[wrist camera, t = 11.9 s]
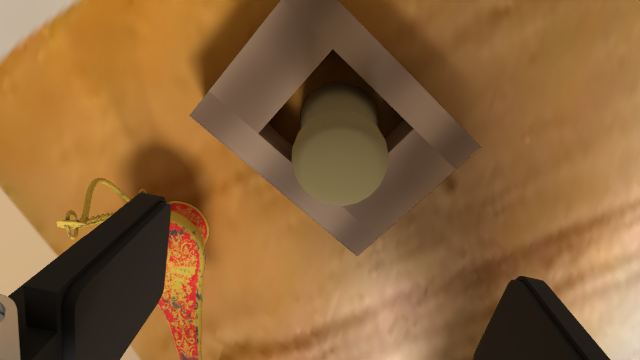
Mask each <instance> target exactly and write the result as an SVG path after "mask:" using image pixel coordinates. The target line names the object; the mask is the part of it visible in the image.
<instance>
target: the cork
mask: <svg viewBox="0 0 640 360" xmlns="http://www.w3.org/2000/svg"><path fill="white" fill-rule="evenodd" d="M378 119H379V118H378V113H377V108H376V105H375V103H374V102H373V100H372V98H371V96H370V95H369V94H368V93H367V92H365V91H364V90H363V89H362V88H361V87H359V86H356V85H354V84H352V83H349V82H338V81H336V82H332V83H328V84H324V85H322V86H321V87H319V88H317V89H316V90H314V91H313V92H312V93H311V94H310V96H309V97H308V98H307V99H306V101H305V103H304V105H303V108H302V110H301V116H300V127H301V130H300V131H299V133H298V135H297V137H296V140H295V142H294V145H293V148H292V167H293V170H294V174H295V177H296V179H297V181H298V182H299V184H300V185H301V187H302V188H303V190H304V191H305V192H306V193H308V194H309V195H310V196H311V197H313V198H314V199H315V200H318V201H320V202H323V203H325V204H328V205H337V206H345V205H350V204H355V203H358V202H360V201H362V200H363V199H365V198H367V197H369V196H370V195H371V194H372V193H373V192H374V191H375V190H376V189H377V188H378V187H379V186H380V184H381V182H382V180H383V178H384V176H385V174H386V171H387V165H388V158H389V155H388V150H387V145H386V141H385V139H384V137H383V135H382V134H381V132H380V130H379V129H378Z"/></svg>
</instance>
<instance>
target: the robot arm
mask: <svg viewBox="0 0 640 360" xmlns="http://www.w3.org/2000/svg"><path fill="white" fill-rule="evenodd" d="M170 218H171V205H170V204H168V203H166V202H165V198H164V197H161V196H157V195H152V194H147V193H143V192H141V193H139V194H138V195H137V196H135V197H134V198H133V199H132V200H130V201H129V202H128V203H127V204H125V205H124V206H123V207H122V208H120V209H119V210H118V211H117V212H115V213H114V214H113V215H111V216H110V217H109V218H108V219H106V220H105V221H104V222H103V223H101V224H100V225H99V226H98V227H96V228H95V229H94V230H93V231H91V232H90V233H89V234H87V235H86V236H84V237H83V238H81V239H80V240H79V241H78V242H76V243H75V244H74V245H73V246H71V247H70V248H69V249H67V250H66V251H65V252H64V253H62V254H61V255H60V256H59V257H57V258H56V259H55V260H54V261H52V262H51V263H50V264H49V265H47V266H46V267H45V268H43V269H42V270H41V271H40V272H39V273H37V274H36V275H35V276H33V277H32V278H31V279H30V280H28V281H27V282H26V283H24V284H23V285H22V286H21V287H19V288H18V289H17V290H16V291H14V292H13V293H12V294H11V295H9V296H8V297H7V296H5V295H2V294H0V360H120V358H121V357H122V356H123V354H124V353H125V351H126V350H127V348H128V347H129V345H130V344H131V342H132V341H133V339H134V338H135V336H136V335H137V333H138V332H139V330H140V329H141V327H142V326H143V324H144V323H145V321H146V320H147V319H148V317H149V316H150V314H151V313H152V311H153V310H154V308H155V307H156V305H157V304H158V302H159V301H160V299H161V297H162V294H163V291H164V285H165V274H166V263H167V251H168V240H169V229H170ZM474 360H610V359H609V358H608V356H607V355H606V354H605V353H604V352H603V350H602V349H601V348H600V347H599V346H598V344H597V343H596V342H595V341H594V340H593V339H592V337H591V336H590V335H589V334H588V333H587V331H586V330H585V329H584V328H583V327H582V325H581V324H580V323H579V322H578V321H577V320H576V318H575V317H574V316H573V315H572V314H571V312H570V311H569V310H568V309H567V308H566V306H565V305H564V304H563V303H562V302H561V300H560V299H559V298H558V297H557V296H556V295H555V293H554V292H553V291H552V290H551V289H550V287H549V286H548V285H547V284H546V283H545V282H544V281H542V280H538V279H533V278H529V277H524V276H519V277H518V278H516V279H515V280H511V281H510V282H509V284H508V285H507V287H506V289H505V292H504V294H503V296H502V298H501V300H500V302H499V304H498V306H497V308H496V310H495V312H494V314H493V316H492V318H491V320H490V322H489V324H488V326H487V328H486V330H485V333H484V335H483V337H482V339H481V341H480V343H479V345H478V347H477V349H476V351H475V354H474Z"/></svg>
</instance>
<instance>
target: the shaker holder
mask: <svg viewBox="0 0 640 360" xmlns="http://www.w3.org/2000/svg"><path fill="white" fill-rule="evenodd" d="M332 49H333V50H334V51H335V52H336V53H337V54H338V55H339V56H340V57H341V58H342V59H343V60H345V61H346V62H347V63H348V64H349V65H350V66H351V67H352V68H353V69H354V70H355V71H356V72H357V73H358V74H359V75H360V76H361V77H362V78H363V79H364V80H365V81H366V82H367V83H368V84H369V85H370V86H371V87H372V88H373V89H374V90H375V91H376V92H377V93H378V94H379V95H380V96H381V97H382V98H383V99H384V100H385V101H386V102H387V103H388V104H389V105H390V106H391V107H392V108H393V109H394V110H395V111H396V112H397V113H398V114H399V115H400V116H401V117H402V118H404V120H403V121H402V122H401V123H400V124H399V125H398V126H397V127H396V128H395V129H394V130H393V131H392V132H391V133H390V134H389V135H387V136H386V137H385V138H384V139H385V141H386V145H387V150H388V155H389V158H388V165H387V171H386V174H385V176H384V178H383V180H382V182H381V184H380V186H379V187H378V188H377V189H376V190H375V191H374V192H373V193H372V194H371V195H370V196H369V197H367V198H365V199H363V200H362V201H360V202H358V203H355V204H350V205H345V206H337V205H328V204H325V203H323V202H320V201H318V200H315V199H314V198H313V197H311V196H310V195H309V194H308V193H306V192H305V191H304V190H303V188H302V187H301V185H300V184H299V182H298V181H297V179H296V177H295V174H294V170H293V167H292V148H293V145H292V144H291V143H289V142H288V141H287V140H286V139H285V138H284V137H283V136H282V135H280V134H279V133H278V132H277V131H276V130H275V129H274V128H272V127H271V126H270V125H269V124H268V122H269V121H270V120H271V119H272V117H273V116H274V115H275V114H276V113H277V112H278V111H279V109H280V108H281V107H282V106H283V105H284V104H285V103H286V102H287V100H288V99H289V98H290V97H291V96H292V95H293V94H294V92H295V91H296V90H297V89H298V88H299V87H300V86H301V85H302V83H303V82H304V81H305V80H306V79H307V78H308V77H309V75H310V74H311V73H312V72H313V71H314V70H315V69H316V67H317V66H318V65H319V64H320V63H321V62H322V61H323V60H324V58H325V57H326V56H327V55H328V54H329V53H330V52H331V50H332ZM189 116H191V117H192V118H193V119H194V120H195V121H197V122H198V123H199V124H200V125H201V126H202V127H204V128H205V129H206V130H207V131H208V132H210V133H211V134H212V135H213V136H214V137H216V138H217V139H218V140H219V141H220V142H222V143H223V144H224V145H225V146H226V147H228V148H229V149H230V150H231V151H232V152H233V153H235V154H236V155H237V156H238V157H239V158H241V159H242V160H243V161H244V162H245V163H247V164H248V165H249V166H250V167H251V168H253V169H254V170H255V171H256V172H257V173H259V174H260V175H261V176H262V177H263V178H264V179H266V180H267V181H268V182H269V183H270V184H272V185H273V186H274V187H275V188H276V189H278V190H279V191H280V192H281V193H282V194H284V195H285V196H286V197H287V198H288V199H289V200H291V201H292V202H293V203H294V204H295V205H297V206H298V207H299V208H300V209H301V210H303V211H304V212H305V213H306V214H307V215H309V216H310V217H311V218H312V219H313V220H315V221H316V222H317V223H318V224H319V225H320V226H322V227H323V228H324V229H325V230H326V231H328V232H329V233H330V234H331V235H332V236H334V237H335V238H336V239H337V240H338V241H340V242H341V243H342V244H343V245H344V246H346V247H347V248H348V249H349V250H350V251H351V252H353V253H354V254H355V255H356V256H358V255H359V254H360V253H361V252H363V251H364V250H365V249H366V248H367V247H368V246H369V245H370V244H372V243H373V242H374V241H375V240H376V239H377V238H378V237H380V236H381V235H382V234H383V233H384V232H385V231H386V230H388V229H389V228H390V227H391V226H392V225H393V224H394V223H396V222H397V221H398V220H399V219H400V218H401V217H402V216H404V215H405V214H406V213H407V212H408V211H409V210H410V209H411V208H413V207H414V206H415V205H416V204H417V203H418V202H419V201H421V200H422V199H423V198H424V197H425V196H426V195H427V194H429V193H430V192H431V191H432V190H433V189H434V188H435V187H437V186H438V185H439V184H440V183H441V182H442V181H443V180H444V179H446V178H447V177H448V176H449V175H450V174H451V173H452V172H454V171H455V170H456V169H457V168H458V167H459V166H460V165H462V164H463V163H464V162H465V161H466V160H467V159H468V158H470V157H471V156H472V155H473V154H474V153H475V152H476V151H477V150H479V149H480V148H481V146H480V145H479V144H478V143H477V142H476V141H475V140H474V139H473V138H472V137H471V136H470V135H469V134H468V133H467V132H466V131H465V130H464V129H463V128H462V127H461V126H460V125H459V124H458V123H457V122H456V120H455V119H454V118H453V117H452V116H451V115H450V114H449V113H448V112H447V111H446V110H445V109H444V108H443V107H442V106H441V105H440V104H439V103H438V102H437V101H436V100H435V99H434V98H433V97H432V96H431V95H430V94H429V93H428V92H427V91H426V90H425V89H424V88H423V87H422V86H421V85H420V84H419V83H418V82H417V81H416V79H415V78H414V77H413V76H412V75H411V74H410V73H409V72H408V71H407V70H406V69H405V68H404V67H403V66H402V65H401V64H400V63H399V62H398V61H397V60H396V59H395V58H394V57H393V56H392V55H391V54H390V53H389V52H388V51H387V50H386V49H385V48H384V47H383V46H382V45H381V44H380V43H379V42H378V41H377V40H376V38H375V37H374V36H373V35H372V34H371V33H370V32H369V31H368V30H367V29H366V28H365V27H364V26H363V25H362V24H361V23H360V22H359V21H358V20H357V19H356V18H355V17H354V16H353V15H352V14H351V13H350V12H349V11H348V10H347V9H346V8H345V7H344V6H343V5H342V4H341V3H340V2H339V1H338V0H281V1H280V2H279V3H278V4H277V6H276V7H275V8H274V9H273V11H272V12H271V13H270V14H269V16H268V17H267V18H266V19H265V21H264V22H263V23H262V25H261V26H260V27H259V28H258V30H257V31H256V32H255V33H254V35H253V36H252V37H251V38H250V40H249V41H248V42H247V43H246V45H245V46H244V47H243V49H242V50H241V51H240V52H239V54H238V55H237V56H236V57H235V59H234V60H233V61H232V62H231V64H230V65H229V66H228V67H227V69H226V70H225V71H224V73H223V74H222V75H221V76H220V78H219V79H218V80H217V81H216V83H215V84H214V85H213V86H212V88H211V89H210V90H209V91H208V93H207V94H206V95H205V96H204V98H203V99H202V100H201V102H200V103H199V104H198V105H197V107H196V108H195V109H194V110H193V112H192V113H191V114H190V115H189Z"/></svg>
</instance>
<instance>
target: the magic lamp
mask: <svg viewBox="0 0 640 360" xmlns="http://www.w3.org/2000/svg"><path fill="white" fill-rule="evenodd" d="M98 183H103V184H105V185H107V186H108V187H110V188H111V189H112V190H114V191H115V192H116V193H117V194H118V195H119V196H121V197H122V198H123V199H124V200H125V201H126V202H127V203H128V202H129V201H130V200H132V199H130V198H129V197H128V196H127V195H126V194H125V193H123V192H122V191H121V190H120V189H119V188H118V187H116V186H115V185H114V184H112V183H111V182H110V181H108V180H106V179H103V178H97V179H94V180H93V181H92V182H91V183H90V185H89V187H88V190H87V193H86V197H85V203H84V209H83V214H82V217H81V219H80V220H77V216H76V214H75V212H74V211H71V210H70V211H68V213H67V215H66V220H63V221H57V226H58V227H60V228H66V231H67V234H68V236H69V238H71V239H75V238H76V237H77V235H78V229H82V228H84V227H87V226H89V225H93V224H95V223H100V222H104V221H105V220H106V219H108V218H109V217H110V216H111V215H113V213H111V214H109V213H107V214H106V215H104V214H102V215H101V216H100V215H97V216H96V217H94V216H93V217H91V218H90V219H89V218H88V215H89V209H90V203H91V197H92V193H93V190H94V188H95V186H96V185H97V184H98ZM142 190H143V191H144V192H145V193H147V194H148V192H147V191H146V190H145V189H140V191H139V193H140V192H141V191H142ZM167 203H168V204H170V205H171V218H170V229H169V240H168V251H167V263H166V274H165V285H164V291H163V294H162V297H161V299H160V301H159V302H158V306H159V307H160V308H161V310H162V312H163V314H164V315H165V317H166V320H167V322H168V324H169V327H170V330H171V333H172V336H173V340H174V343H175V347H176V350H177V353H178V356H179V359H180V360H202V355H201V325H202V292H203V277H204V269H205V260H206V250H205V243H206V241H207V239H208V236H209V226H208V223H207V220H206V218H205V216H204V215H203V214H202V213H201V212H200V211H199V210H198V209H197V208H196V207H194V206H192V205H191V204H188V203H185V202H181V201H171V202H167ZM70 214H72V216H73V218H74V220H69V218H70ZM92 219H93V220H92ZM87 220H88V221H87ZM96 221H97V222H96ZM70 228H73V229H75V232H74V235H72V234H71V231H70Z"/></svg>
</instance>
